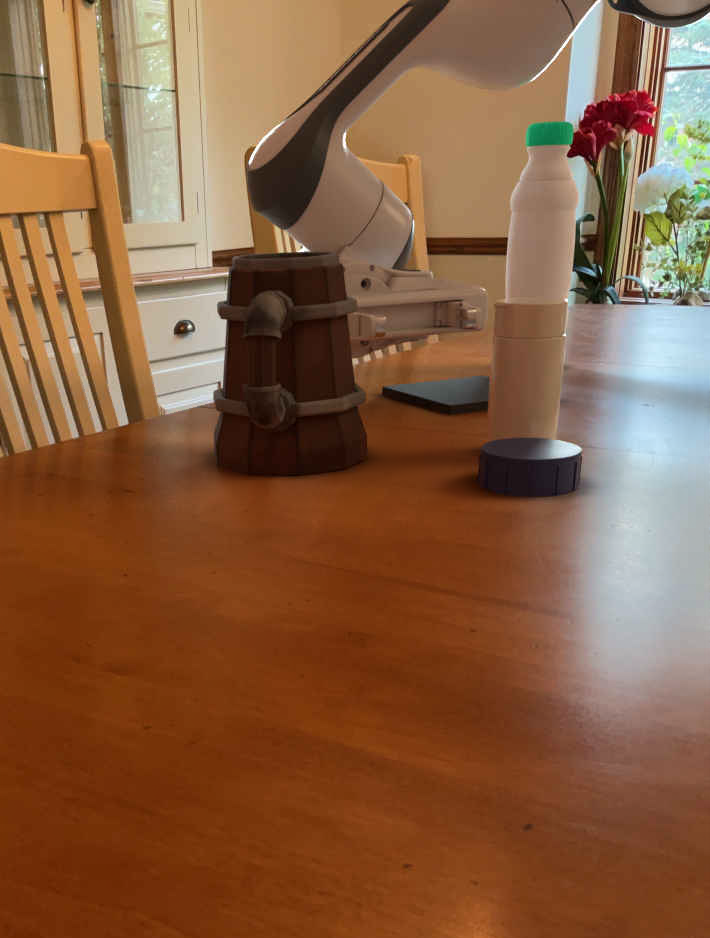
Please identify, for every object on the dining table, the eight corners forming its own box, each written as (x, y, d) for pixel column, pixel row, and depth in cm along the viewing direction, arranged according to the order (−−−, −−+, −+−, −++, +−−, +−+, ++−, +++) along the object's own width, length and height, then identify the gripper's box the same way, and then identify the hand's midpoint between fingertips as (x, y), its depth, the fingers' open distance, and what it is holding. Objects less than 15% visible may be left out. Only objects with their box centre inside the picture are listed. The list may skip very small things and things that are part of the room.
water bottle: (495, 372, 116) (511, 122, 106) (503, 362, 122) (519, 125, 112) (561, 373, 114) (584, 118, 104) (565, 364, 120) (587, 122, 110)
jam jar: (522, 445, 83) (534, 295, 78) (569, 457, 79) (584, 300, 74) (470, 454, 81) (479, 300, 76) (516, 467, 76) (528, 305, 72)
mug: (232, 441, 88) (226, 251, 82) (376, 444, 85) (380, 248, 79) (178, 489, 74) (165, 265, 68) (347, 495, 71) (350, 262, 65)
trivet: (481, 385, 109) (482, 375, 108) (557, 403, 99) (558, 392, 98) (381, 396, 105) (382, 386, 104) (449, 416, 94) (450, 405, 94)
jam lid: (458, 484, 73) (460, 446, 72) (524, 469, 76) (527, 433, 75) (531, 504, 67) (534, 464, 66) (598, 487, 71) (602, 449, 70)
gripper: (247, 280, 95) (317, 291, 83) (438, 268, 102) (528, 276, 90) (249, 352, 97) (317, 371, 85) (435, 335, 104) (522, 351, 93)
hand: (427, 322), depth 88 cm, fingers open, 8 cm apart
